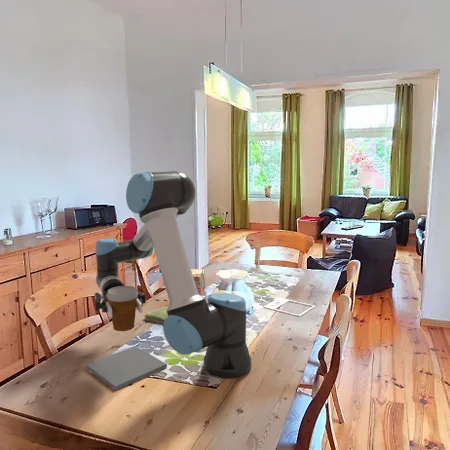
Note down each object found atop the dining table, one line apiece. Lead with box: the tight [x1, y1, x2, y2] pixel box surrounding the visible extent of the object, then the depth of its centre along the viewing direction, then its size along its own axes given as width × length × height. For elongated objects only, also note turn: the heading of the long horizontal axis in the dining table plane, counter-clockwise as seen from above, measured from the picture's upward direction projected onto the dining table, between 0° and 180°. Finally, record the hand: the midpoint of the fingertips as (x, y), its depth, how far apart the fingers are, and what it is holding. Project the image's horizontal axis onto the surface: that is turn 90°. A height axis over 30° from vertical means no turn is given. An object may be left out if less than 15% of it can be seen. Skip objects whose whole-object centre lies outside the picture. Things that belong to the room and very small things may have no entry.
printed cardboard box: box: [191, 268, 206, 296], centre depth 197 cm, size 21×6×12 cm, turn 177°
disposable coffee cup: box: [106, 285, 139, 332], centre depth 124 cm, size 10×10×12 cm
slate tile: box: [85, 345, 168, 391], centre depth 127 cm, size 18×18×1 cm
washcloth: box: [144, 306, 168, 325], centre depth 167 cm, size 13×18×3 cm
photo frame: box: [262, 297, 316, 318], centre depth 179 cm, size 15×1×18 cm
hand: (126, 310), depth 120 cm, fingers closed on disposable coffee cup, 8 cm apart
